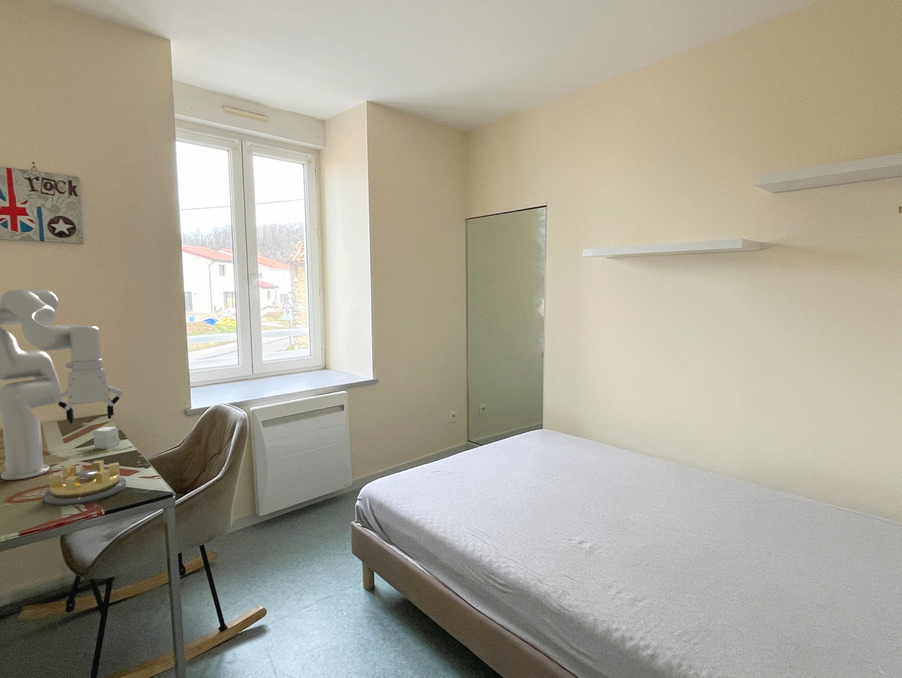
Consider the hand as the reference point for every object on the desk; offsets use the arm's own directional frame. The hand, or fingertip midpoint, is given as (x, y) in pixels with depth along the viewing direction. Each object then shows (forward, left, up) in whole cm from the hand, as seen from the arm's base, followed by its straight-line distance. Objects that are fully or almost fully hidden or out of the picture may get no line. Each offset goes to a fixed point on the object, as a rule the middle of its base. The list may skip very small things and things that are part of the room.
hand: (91, 420), depth 153 cm
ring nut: (+2, -4, -20) cm, 20 cm away
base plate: (+2, -4, -22) cm, 22 cm away
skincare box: (-39, +32, -22) cm, 55 cm away
